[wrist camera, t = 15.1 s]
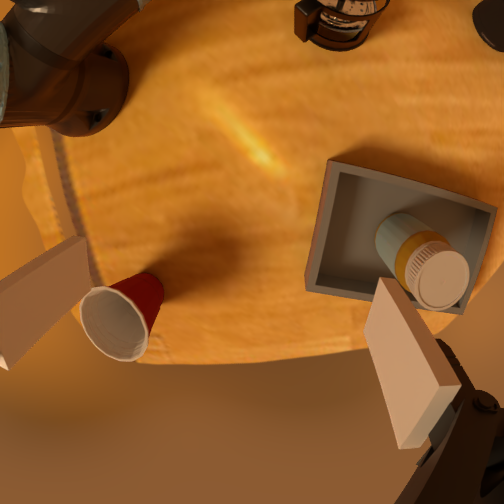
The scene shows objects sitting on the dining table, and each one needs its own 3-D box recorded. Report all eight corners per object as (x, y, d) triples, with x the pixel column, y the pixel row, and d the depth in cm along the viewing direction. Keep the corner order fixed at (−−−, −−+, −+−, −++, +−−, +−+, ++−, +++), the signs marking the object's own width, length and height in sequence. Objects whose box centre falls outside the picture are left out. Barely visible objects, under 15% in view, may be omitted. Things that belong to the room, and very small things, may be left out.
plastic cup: (139, 241, 45) (97, 271, 34) (192, 290, 47) (164, 334, 35) (106, 285, 49) (65, 320, 37) (154, 330, 50) (123, 374, 39)
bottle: (426, 247, 39) (478, 293, 25) (384, 270, 41) (421, 326, 27) (409, 202, 38) (463, 232, 24) (365, 226, 40) (400, 268, 25)
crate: (327, 159, 38) (332, 161, 34) (479, 200, 37) (497, 207, 32) (304, 275, 44) (305, 290, 39) (449, 299, 42) (462, 315, 38)
